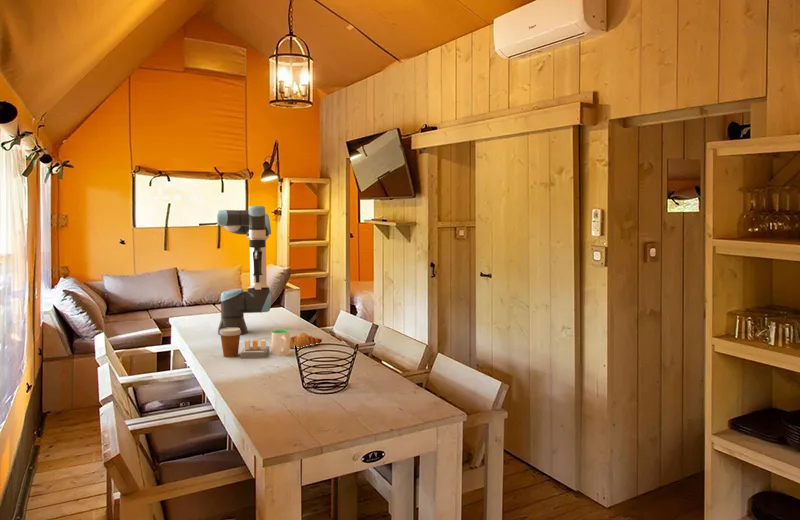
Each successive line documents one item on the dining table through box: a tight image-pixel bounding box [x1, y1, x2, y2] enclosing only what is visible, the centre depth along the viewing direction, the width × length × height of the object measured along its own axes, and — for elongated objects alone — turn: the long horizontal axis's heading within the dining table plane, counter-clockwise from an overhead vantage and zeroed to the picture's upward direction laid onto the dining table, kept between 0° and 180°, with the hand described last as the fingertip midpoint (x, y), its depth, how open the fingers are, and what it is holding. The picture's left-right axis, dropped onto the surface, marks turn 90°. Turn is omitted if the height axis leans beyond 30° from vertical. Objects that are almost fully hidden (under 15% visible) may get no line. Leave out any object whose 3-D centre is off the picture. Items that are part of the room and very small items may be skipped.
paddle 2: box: [252, 339, 259, 350], centre depth 269 cm, size 3×2×4 cm, turn 6°
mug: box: [271, 329, 291, 357], centre depth 270 cm, size 12×8×10 cm
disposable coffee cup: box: [219, 327, 242, 358], centre depth 267 cm, size 10×10×12 cm
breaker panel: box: [240, 345, 270, 359], centre depth 269 cm, size 12×11×3 cm
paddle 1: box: [244, 339, 251, 350], centre depth 268 cm, size 3×2×4 cm, turn 6°
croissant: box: [290, 332, 323, 349], centre depth 286 cm, size 21×10×8 cm
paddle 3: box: [260, 339, 267, 350], centre depth 269 cm, size 3×2×4 cm, turn 6°
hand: (258, 289), depth 277 cm, fingers closed
